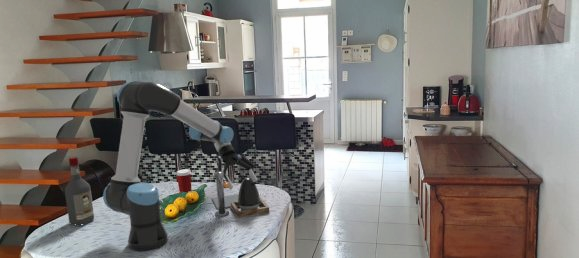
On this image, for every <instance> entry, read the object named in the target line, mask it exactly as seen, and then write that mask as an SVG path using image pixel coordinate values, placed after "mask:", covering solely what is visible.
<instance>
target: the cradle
mask: <svg viewBox="0 0 579 258" xmlns="http://www.w3.org/2000/svg"><path fill="white" fill-rule="evenodd" d="M259 197H260V196H259ZM259 206H261V207H258V208H256V209H250V210H244V211H243V210H239V208H240V206H239V204H238V201H235V202H231V207H230V208H231V209H232V211H233V213H234V214H235V216H236V218H237V219H238V218H244V217H251V216H257V215H262V214H269V213H270V207H269V206H268V204H267V203H266V202H265V200H263V198H262V197H260V203H259Z"/></svg>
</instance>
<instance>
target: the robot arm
mask: <svg viewBox="0 0 579 258" xmlns="http://www.w3.org/2000/svg"><path fill="white" fill-rule="evenodd" d="M116 96H117V97H116V98H117V99H116V100H117V103H119V104H118V105H119V106H120V114H121V115H122V117H123V118H122V119H123V121H122V128H121V133H120V140H119V141H120V142H119V147H118V155H117V162H116V168H115V169H116V170H115V174H114V175H113V176H112V177H111V179H110V182H109V183H108V184H107V186H105V188H104V190H103V194H102V199H103V202H104V204H105V206H106V207H107V208H109V209H111V210H112V211H114V212H117V213H122V214H124V215H128V216H129V220H130V228H129V229H130V231H129V235H128V239H127V245H128V248H129V249H130V250H133V251H138V252H140V251H141V252H144V251H151V250H154V249H158V248H160V247H163V246H164V245H165V244H167V242H168V240H169V236H168V232H167V230H166V228H165V226H164V224H163V222H162V214H161V205H160V204H161V203H160V195H159V189H158V187H157V186H156V185H154V184H153V183H149V182H145V183H144V182H141V179H140V177H139V176H138V175H139V168H140V167H139V166H140V162H141V154H142V146H143V140H144V139H143V138H144V132H145V131H144V130H145V124H146V120H147V119H148V118H149V117H150V115H151V112H157V113H160V114H162V115H165V116H167V117H169V116H170V117H171V116H172V117H174V118H175V119H177V120H179V121H180V122H182V123H183V124H185V125H187V126H189V128H188V129H189V130H188V135H189V138H190V139H192V140H196V141H207V142H212V143H213V145H214V147H215V149H216V151H217V152H218V153H217V154H218V155H219V157H217V159H216V161H215V162H216V164H217V171H223V172H224V178H225V179H226V181H227V182H229V188H228V189H229V190H232V189H233V187H234V185H233V183H232V181H231V179H230V178H229V177H230V176H228V174H227V170H228V167H229V166H230V167H231V166H235V165H237V166H240V167H241V168H244V169H245V170H247V171H248V174H249V177H250V179H252V180H253V181H254V182H257V181H258V178H257V176H256V171H255V170H254V169H255V167H256V164H254V162H252V161H251V160H249V159H248V158H247V157H246V156H245V155H244V154H243V153H242V152H240V153H239V154H237V153H236V151H235V149H234V147H233V145H232V143H231V142H232V141H233V139H234V135H235V133H234V130H233V128H231V127H230V126H227V125H226V126H224V125H222V124H221V122H219V121H218V120H214V119H212V118H210V117H208V116H207V115H205V113H202V112H201V111H199V110H198V109H196V108H194V107H193V106H191V105H190V104H188V103H187V102H186V101H184V100H182V99H181V96H180V95H178V94H177V93H175V92H174V91H172V90H170V89H169V88H167V87H165V86H164V85H162V84H159V83H157V82H155V81H138V80H137V81H136V80H135V81H134V80H133V81H129V82H125V83H123V84H122V85H121V86H120V87H119V89H118V91H117V95H116ZM222 163H224V166H222ZM222 167H223V170H222ZM217 171H216V172H217Z"/></svg>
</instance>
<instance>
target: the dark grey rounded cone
mask: <svg viewBox="0 0 579 258" xmlns="http://www.w3.org/2000/svg"><path fill="white" fill-rule="evenodd" d="M257 184H258V182H257V181H256V182H254V181H253V180H252V178H251V177H250V178H249V177H247V178H244V179H243V180H242V182H241V184H240V186H239V190H238V194H239V195H238V204H239V206H240V207H239V208H240V209H241V211H244V210H250V209H256V208H259V206H260V204H259V203H260V194H259V190H258V187H257Z"/></svg>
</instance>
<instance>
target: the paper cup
mask: <svg viewBox="0 0 579 258" xmlns="http://www.w3.org/2000/svg"><path fill="white" fill-rule="evenodd" d="M175 175H176V179H177V185H178V191H179V194H180V193H182V192H188V191H191V192H192V171H191V169H187V168H185V169H180V170H177V171H176V173H175Z"/></svg>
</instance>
